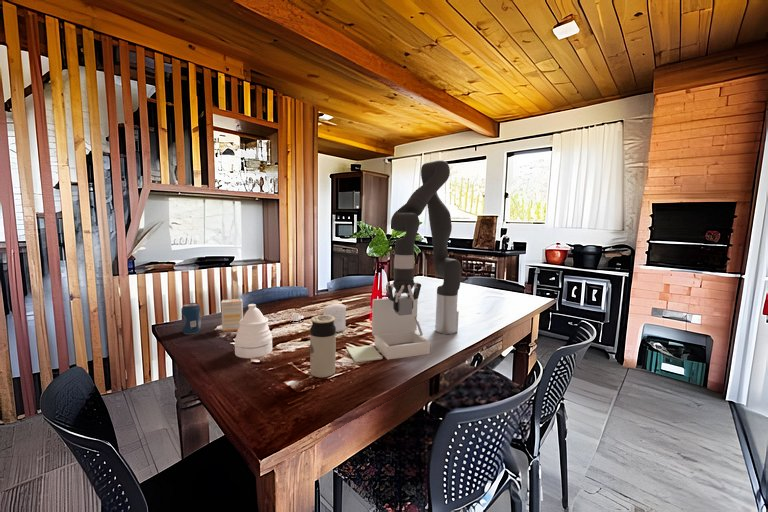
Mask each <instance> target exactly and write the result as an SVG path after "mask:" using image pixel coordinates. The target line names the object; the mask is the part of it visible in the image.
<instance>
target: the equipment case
mask: <svg viewBox="0 0 768 512" xmlns="http://www.w3.org/2000/svg"><path fill="white" fill-rule="evenodd" d="M418 299H419V298H418ZM418 299H415V300H414V301H413V309H412V314H411V315H401V316H400V315H398V314H397V313H395V310H394V309H393V301H391V300H389V298H375V299H374V298H373V299H372V311H371V312H372V314H371V315H372V317H371V318H372V319H371V328H372V329H371V335H372V336H374V347H375V349H376V350H378V352H379V353H381V354H382V356H384V358H385V359H387V360H394V359H402V358H410V357H415V356H424V355H430V354H431V353H430V352H431V341H429V340H427V339H426V337H424V336H423V331H422V327H421V325H420V321H419V318H418ZM417 330H418V332H417Z"/></svg>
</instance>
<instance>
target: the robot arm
mask: <svg viewBox="0 0 768 512" xmlns="http://www.w3.org/2000/svg"><path fill="white" fill-rule="evenodd" d="M450 172H451V169H450V165H449V163H448V162H447V161H446V160H442V159H440V160H435V161H430V162H429V161H428V162H426V163H423V164H422V166H421V167H420V176H421V183H422V185H421V186H420V187H418V188H417V189H415V191H414V192H413V193H411V195H410V197H409V198H408V200H407V201H406V203H405V204H403V205H402V206H401V207H400V208H398V209H397V210H396V211H395V212H394V214H393V215H391V219H390V226H391V229H392V230H393V231H395V232H399V233H401V232H402V233H403V232H404V233H405V234H404V237H401V238H397V239H396V240H395V242H394V243H395V244H394V259H393V260H394V261H393V264H394V265H393V282H392V283H391V284H386V285H385V288H386V293H387V297H388V298H389V300H391V301H393V309H394V310H395V311H396V312H398V306H399V302H398V300H399V298H400V296H402V294H406V296H408V297H410V298H412V309H413V301H414V300H415V299H419V296H420V292H421V287H422V284H421V283H419V282H415V281H414V279H415V257H414V256H415V242H416V237H417V234H418V233H419V232H418V231H419V227H420V218H419V217H420V216H421V214H422V213H423V211H424V210H425V208H426V207H427V211H428V220H429V227H430V233H431V240H432V242H431V243H432V248H433V268H434V269H433V270H434V273H435V275H436V276H438V278H441V279H443V283H442V284H441V285H438V286H437V288H436V304H435V305H436V307H435V329H434V330H435V332H437V333H438V334H443V335H453V334H455V333H458V332H459V310H458V293H459V289H460V286H461V281H462V280H461V277H462V264H461V262H460V260H457V259H455V258H450V257H449V253H448V243H449V239H450V236H451V233H452V228H453V227H452V225H453V224H452V218H451V212H450V210H449V209H448V207H447V206H446V204H445V203H444V202H443V201H442V199H441V198H440V197H439V194H438V191H439V189H440V188H442V186H444V184H445V183H447V181H448V180H449V178H450V174H451V173H450ZM413 288H414V290H412V289H413ZM394 289H395V290H394ZM393 290H394V293H393ZM388 298H387V299H388Z"/></svg>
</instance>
